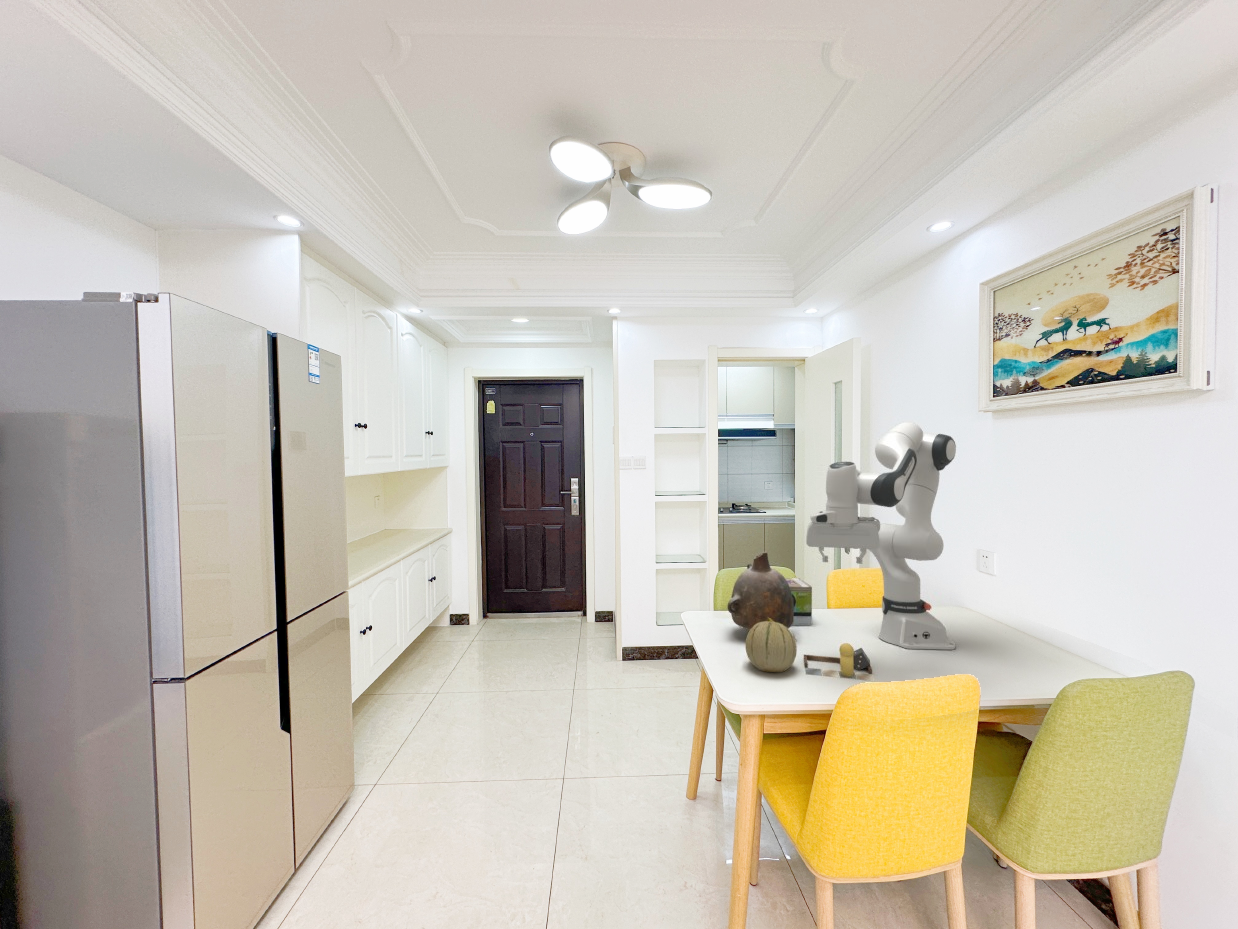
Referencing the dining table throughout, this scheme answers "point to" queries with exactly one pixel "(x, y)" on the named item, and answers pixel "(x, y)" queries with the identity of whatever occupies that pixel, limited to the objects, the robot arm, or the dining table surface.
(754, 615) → the jug
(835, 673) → the board
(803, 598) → the tea box
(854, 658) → the die
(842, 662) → the pawn
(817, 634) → the dining table surface
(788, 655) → the cantaloupe
